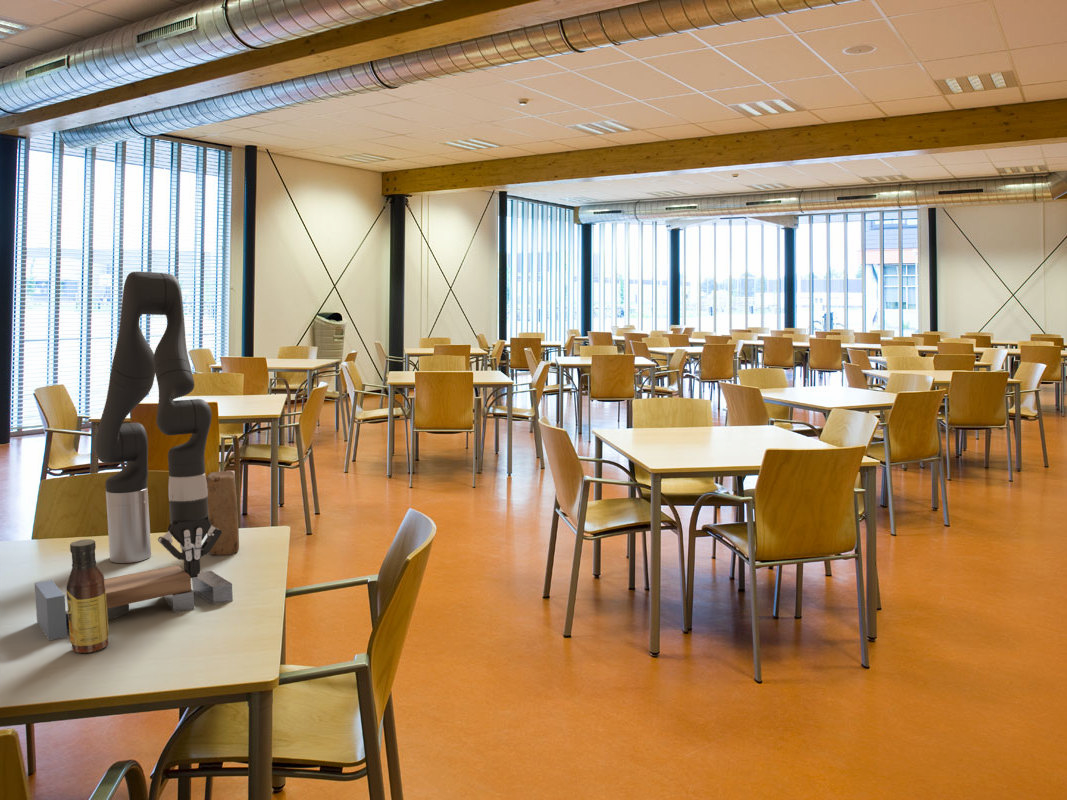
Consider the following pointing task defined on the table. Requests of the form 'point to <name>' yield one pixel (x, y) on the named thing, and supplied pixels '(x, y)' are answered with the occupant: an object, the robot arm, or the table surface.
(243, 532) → the table surface
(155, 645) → the table surface
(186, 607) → the bar middle
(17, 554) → the table surface
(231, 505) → the block
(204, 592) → the bar rear
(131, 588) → the slab
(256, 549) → the table surface
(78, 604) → the sauce bottle
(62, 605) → the stop block
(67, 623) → the bar loose
